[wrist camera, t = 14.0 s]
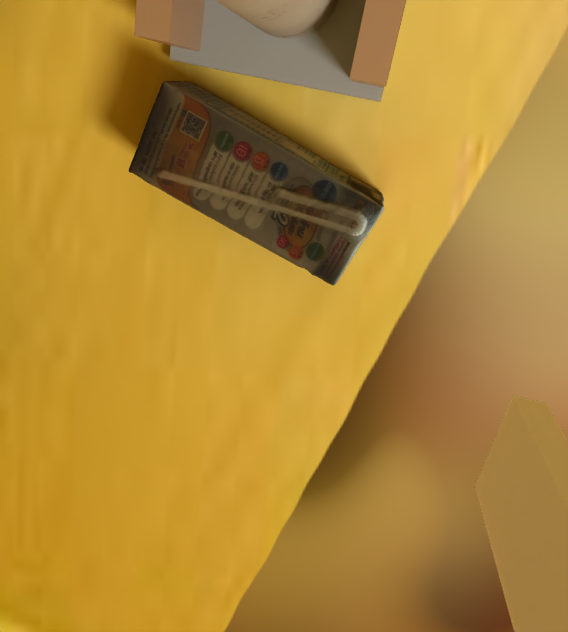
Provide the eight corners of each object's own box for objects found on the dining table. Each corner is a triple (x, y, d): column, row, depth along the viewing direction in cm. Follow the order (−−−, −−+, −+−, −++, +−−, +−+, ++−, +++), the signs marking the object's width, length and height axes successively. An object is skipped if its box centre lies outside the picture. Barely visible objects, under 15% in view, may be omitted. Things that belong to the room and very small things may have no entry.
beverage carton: (338, 270, 48) (333, 294, 42) (150, 163, 47) (117, 172, 41) (386, 193, 45) (388, 207, 39) (186, 76, 44) (156, 72, 38)
